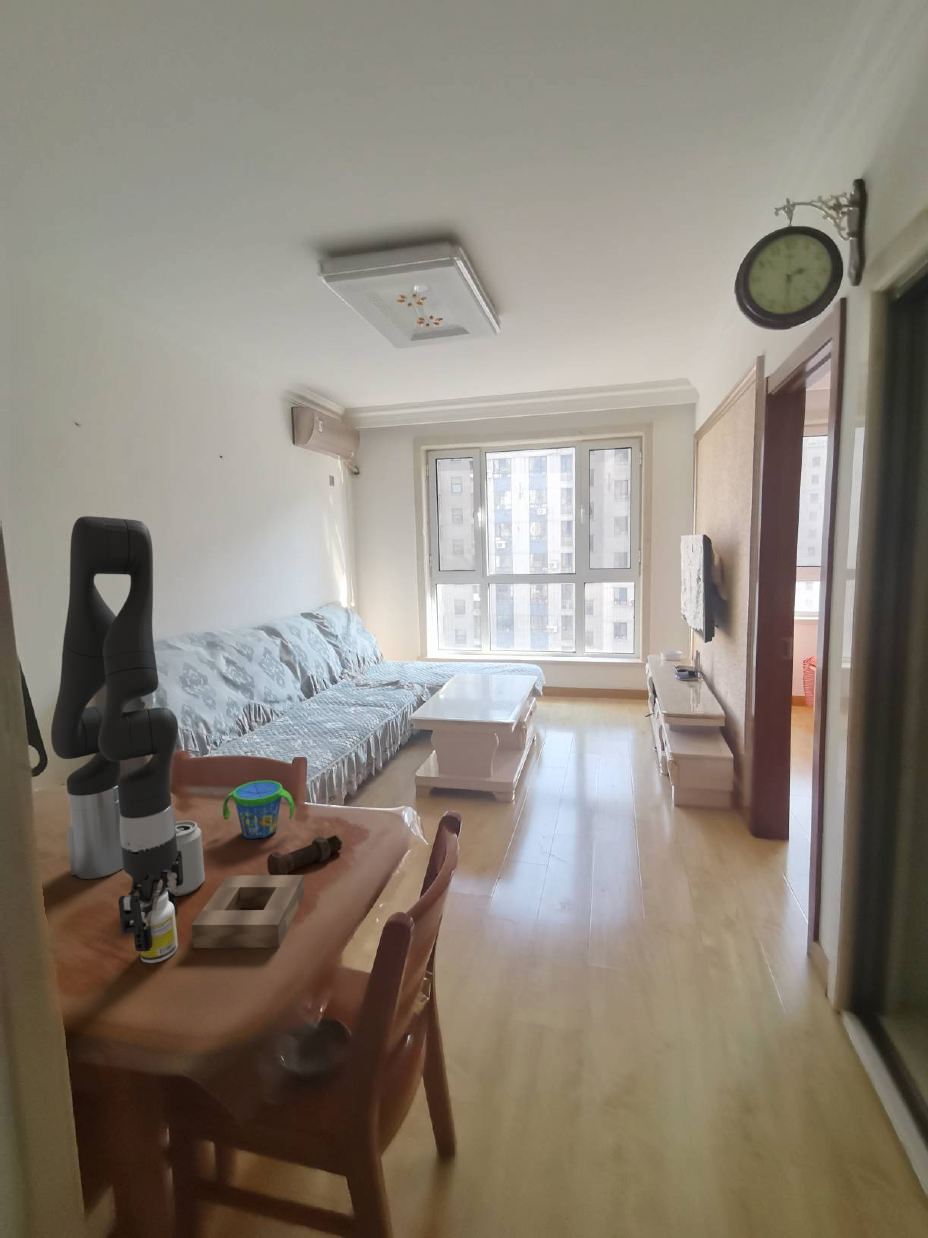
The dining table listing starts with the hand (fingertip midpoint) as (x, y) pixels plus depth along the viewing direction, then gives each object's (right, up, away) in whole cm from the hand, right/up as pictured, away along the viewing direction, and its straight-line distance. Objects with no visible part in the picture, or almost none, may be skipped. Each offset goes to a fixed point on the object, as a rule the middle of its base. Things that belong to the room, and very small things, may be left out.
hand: (157, 933), depth 92 cm
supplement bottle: (0, -4, 0) cm, 4 cm away
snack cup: (+3, +2, +39) cm, 39 cm away
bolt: (+17, 0, +26) cm, 31 cm away
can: (-5, -1, +18) cm, 19 cm away
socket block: (+12, -2, +8) cm, 15 cm away
